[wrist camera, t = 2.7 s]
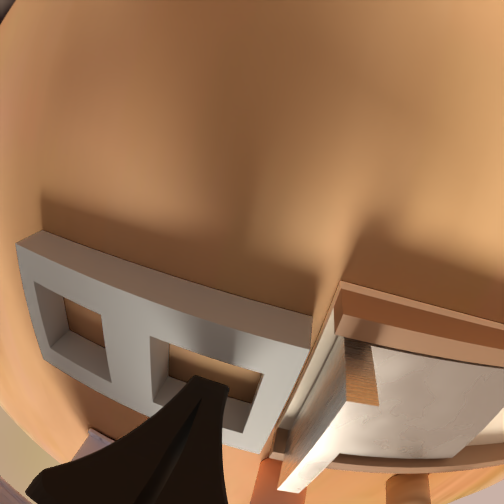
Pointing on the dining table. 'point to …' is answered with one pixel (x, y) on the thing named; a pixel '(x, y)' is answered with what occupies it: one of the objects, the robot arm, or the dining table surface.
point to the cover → (388, 408)
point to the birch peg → (408, 489)
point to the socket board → (159, 332)
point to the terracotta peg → (273, 486)
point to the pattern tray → (410, 339)
